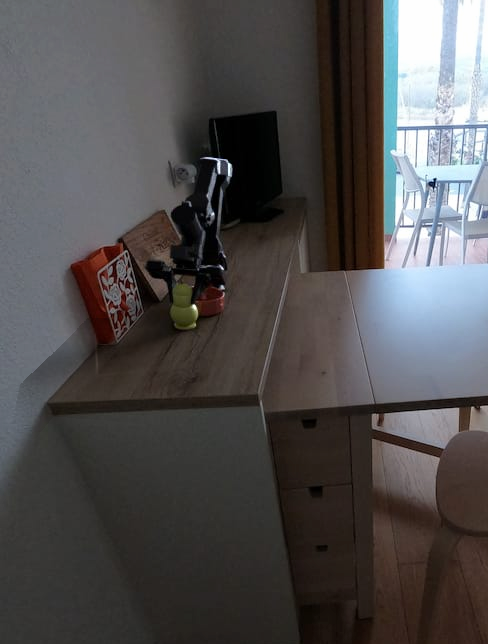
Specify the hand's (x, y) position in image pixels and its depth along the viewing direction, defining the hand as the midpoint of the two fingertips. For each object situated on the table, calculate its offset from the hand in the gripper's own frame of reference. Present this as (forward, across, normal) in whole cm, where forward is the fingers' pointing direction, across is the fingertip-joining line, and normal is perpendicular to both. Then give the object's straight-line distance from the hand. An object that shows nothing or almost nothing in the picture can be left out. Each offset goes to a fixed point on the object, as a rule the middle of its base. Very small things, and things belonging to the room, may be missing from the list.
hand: (181, 303), depth 114 cm
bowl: (-4, +1, +14) cm, 15 cm away
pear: (+4, 0, +6) cm, 7 cm away
